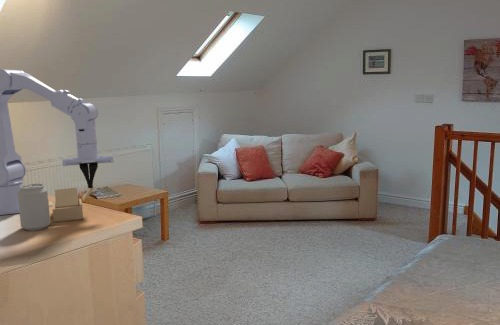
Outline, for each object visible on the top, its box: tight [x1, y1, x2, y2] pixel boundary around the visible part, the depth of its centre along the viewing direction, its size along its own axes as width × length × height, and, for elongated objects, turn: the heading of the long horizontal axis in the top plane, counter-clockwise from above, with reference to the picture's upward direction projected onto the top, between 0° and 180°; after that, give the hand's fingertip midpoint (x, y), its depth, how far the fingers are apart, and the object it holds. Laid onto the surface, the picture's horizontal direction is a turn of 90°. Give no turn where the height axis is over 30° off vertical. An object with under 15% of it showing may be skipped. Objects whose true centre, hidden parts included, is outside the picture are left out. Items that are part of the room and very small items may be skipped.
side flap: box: [81, 184, 96, 202], centre depth 144 cm, size 5×5×1 cm
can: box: [18, 183, 51, 232], centre depth 131 cm, size 8×8×12 cm
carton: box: [48, 198, 84, 224], centre depth 143 cm, size 15×12×4 cm
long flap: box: [54, 187, 79, 207], centre depth 137 cm, size 5×6×1 cm
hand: (90, 187), depth 144 cm, fingers closed
